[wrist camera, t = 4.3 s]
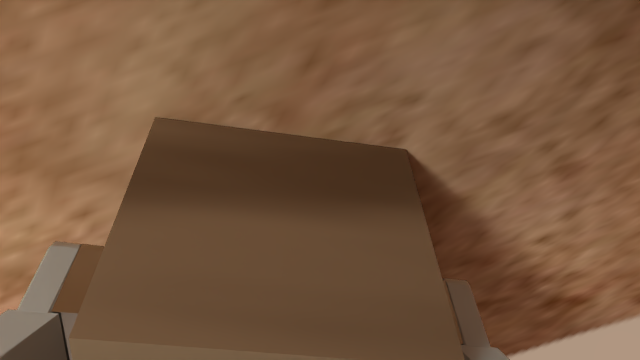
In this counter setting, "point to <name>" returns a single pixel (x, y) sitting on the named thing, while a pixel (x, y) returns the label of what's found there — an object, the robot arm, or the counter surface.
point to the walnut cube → (266, 255)
